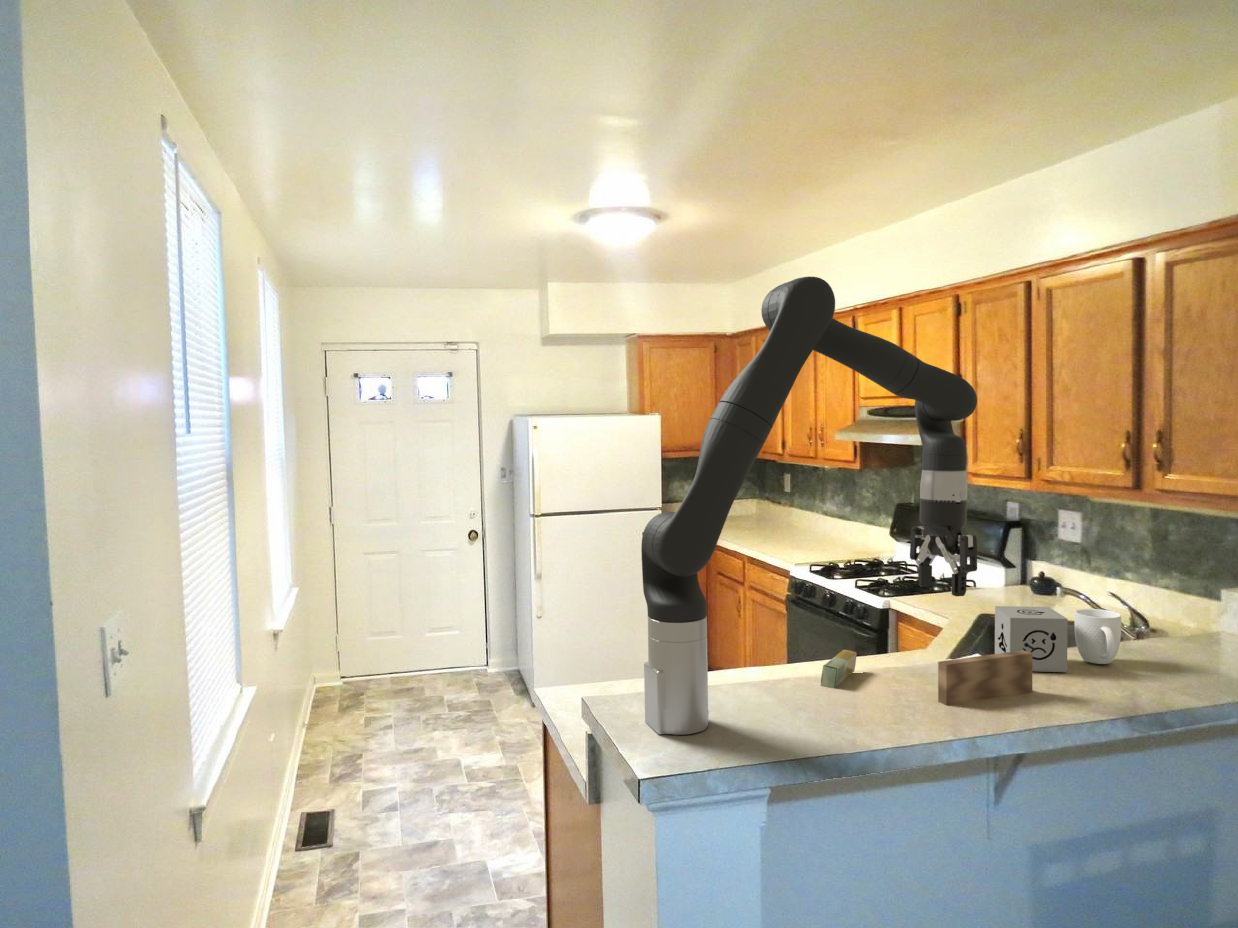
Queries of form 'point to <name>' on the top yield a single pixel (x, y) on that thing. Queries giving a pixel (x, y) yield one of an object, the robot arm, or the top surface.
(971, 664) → the walnut screen
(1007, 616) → the icon cube
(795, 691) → the top surface
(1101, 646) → the mug
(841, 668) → the medication box
